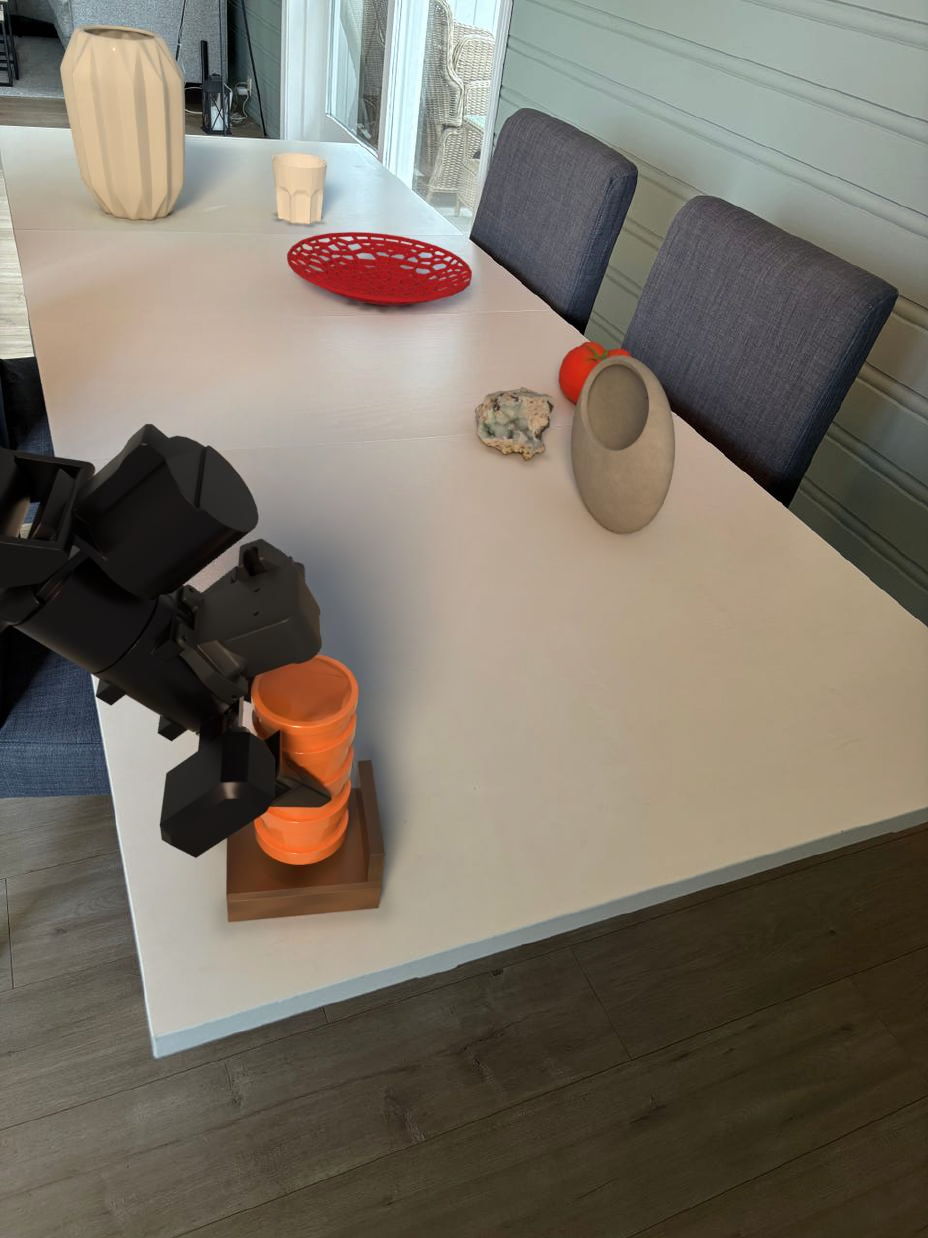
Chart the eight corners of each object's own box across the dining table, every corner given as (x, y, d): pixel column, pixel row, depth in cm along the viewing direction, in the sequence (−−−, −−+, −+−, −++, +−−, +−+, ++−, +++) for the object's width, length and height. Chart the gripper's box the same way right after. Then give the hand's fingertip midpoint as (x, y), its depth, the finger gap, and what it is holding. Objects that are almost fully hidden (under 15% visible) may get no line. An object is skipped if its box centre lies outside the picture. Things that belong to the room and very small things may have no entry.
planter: (541, 478, 110) (572, 327, 98) (593, 474, 112) (629, 326, 100) (609, 570, 97) (654, 409, 85) (667, 563, 99) (718, 406, 87)
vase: (171, 234, 157) (156, 50, 140) (59, 216, 157) (31, 30, 140) (207, 204, 172) (198, 34, 155) (105, 187, 172) (85, 15, 155)
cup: (327, 226, 171) (329, 170, 165) (273, 223, 169) (273, 165, 162) (322, 210, 178) (324, 155, 172) (270, 206, 176) (270, 150, 170)
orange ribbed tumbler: (237, 816, 61) (230, 676, 53) (315, 776, 65) (321, 639, 57) (286, 881, 58) (287, 743, 50) (365, 836, 62) (379, 699, 53)
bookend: (228, 923, 60) (224, 867, 56) (228, 824, 66) (225, 768, 62) (378, 908, 62) (385, 854, 58) (366, 814, 68) (371, 759, 64)
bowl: (251, 274, 148) (250, 242, 145) (395, 253, 165) (397, 224, 161) (358, 344, 132) (360, 310, 129) (505, 312, 149) (509, 282, 146)
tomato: (540, 400, 126) (550, 348, 121) (580, 377, 133) (591, 328, 129) (607, 428, 122) (620, 376, 117) (644, 403, 129) (658, 353, 124)
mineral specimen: (486, 481, 117) (549, 448, 120) (509, 470, 110) (576, 435, 112) (452, 412, 116) (516, 381, 119) (473, 396, 108) (541, 363, 111)
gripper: (218, 670, 39) (443, 821, 48) (237, 449, 53) (408, 598, 62) (50, 794, 42) (289, 913, 52) (109, 555, 56) (289, 683, 66)
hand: (324, 761), depth 58 cm, fingers closed on orange ribbed tumbler, 6 cm apart
